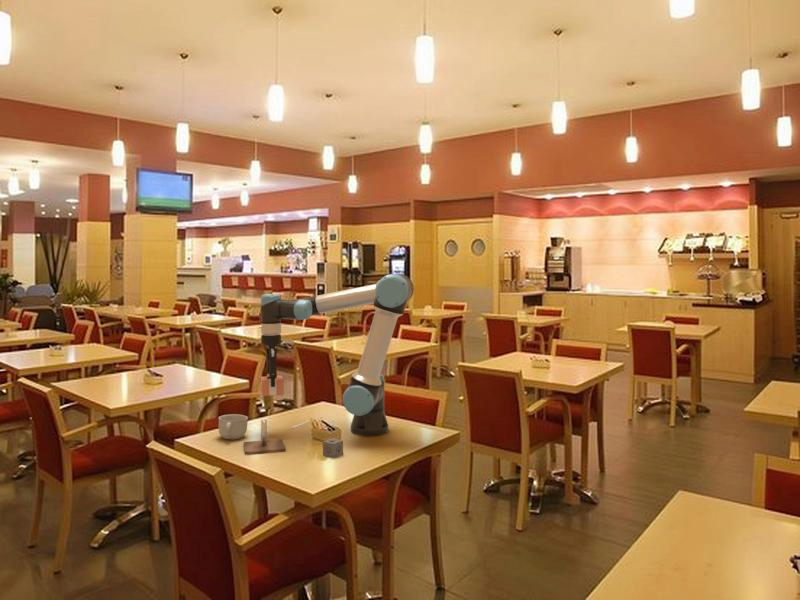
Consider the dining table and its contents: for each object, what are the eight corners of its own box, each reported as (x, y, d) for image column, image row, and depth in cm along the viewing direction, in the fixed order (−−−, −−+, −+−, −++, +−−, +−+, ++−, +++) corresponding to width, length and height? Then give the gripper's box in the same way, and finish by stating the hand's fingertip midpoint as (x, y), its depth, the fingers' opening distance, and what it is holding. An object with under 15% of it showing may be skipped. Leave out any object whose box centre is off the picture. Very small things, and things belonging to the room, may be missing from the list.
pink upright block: (281, 390, 231) (281, 375, 231) (283, 394, 223) (283, 379, 223) (260, 391, 229) (260, 376, 228) (262, 396, 221) (262, 380, 221)
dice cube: (322, 455, 203) (322, 441, 203) (332, 451, 207) (332, 438, 207) (333, 458, 200) (333, 444, 200) (343, 454, 204) (343, 440, 204)
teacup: (226, 432, 229) (225, 412, 229) (252, 434, 228) (252, 413, 227) (209, 443, 215) (209, 422, 215) (237, 445, 214) (237, 423, 213)
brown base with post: (282, 441, 218) (282, 415, 218) (285, 451, 207) (285, 423, 206) (243, 444, 214) (243, 417, 213) (244, 454, 203) (244, 426, 202)
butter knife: (287, 427, 237) (294, 427, 236) (323, 412, 262) (329, 413, 260) (288, 428, 237) (294, 428, 236) (323, 414, 262) (329, 414, 260)
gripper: (259, 331, 233) (260, 387, 235) (263, 337, 213) (263, 399, 215) (278, 330, 236) (279, 386, 237) (283, 336, 216) (284, 397, 217)
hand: (271, 392), depth 226 cm, fingers closed on pink upright block, 8 cm apart
